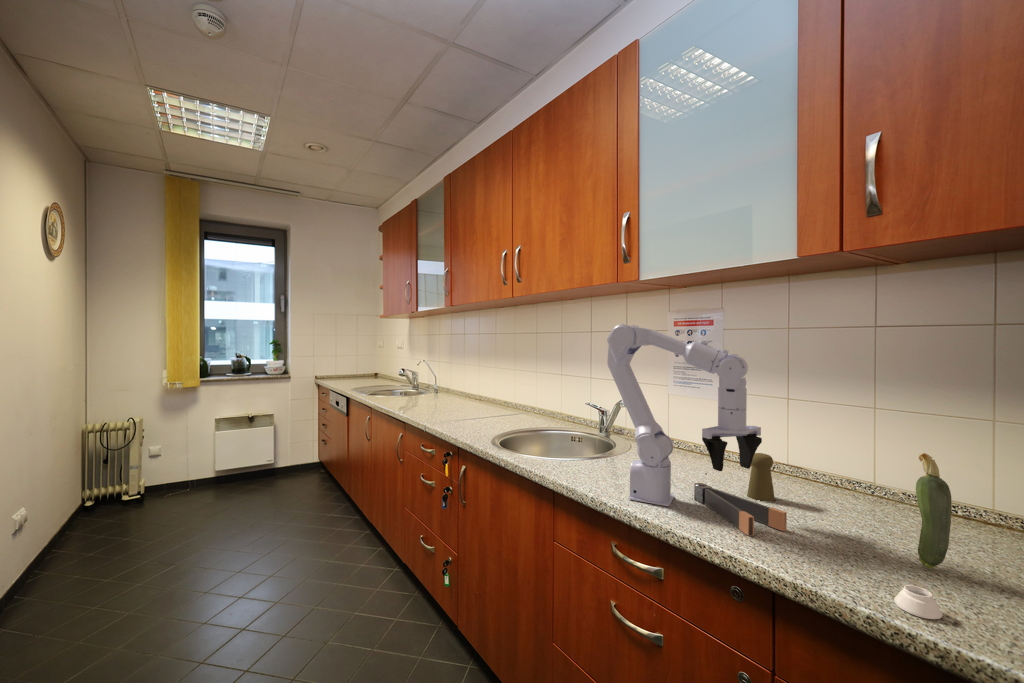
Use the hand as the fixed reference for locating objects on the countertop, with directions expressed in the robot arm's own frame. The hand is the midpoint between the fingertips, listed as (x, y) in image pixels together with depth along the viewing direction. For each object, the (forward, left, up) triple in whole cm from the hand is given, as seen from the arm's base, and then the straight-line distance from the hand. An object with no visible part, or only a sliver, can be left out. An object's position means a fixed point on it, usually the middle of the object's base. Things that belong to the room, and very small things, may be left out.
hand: (731, 468), depth 97 cm
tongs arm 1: (-1, -3, -10) cm, 11 cm away
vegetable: (+31, -9, -11) cm, 34 cm away
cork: (+6, +17, -11) cm, 21 cm away
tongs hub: (-7, +6, -10) cm, 14 cm away
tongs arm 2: (+3, +1, -10) cm, 11 cm away
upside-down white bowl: (+25, -25, -11) cm, 37 cm away
